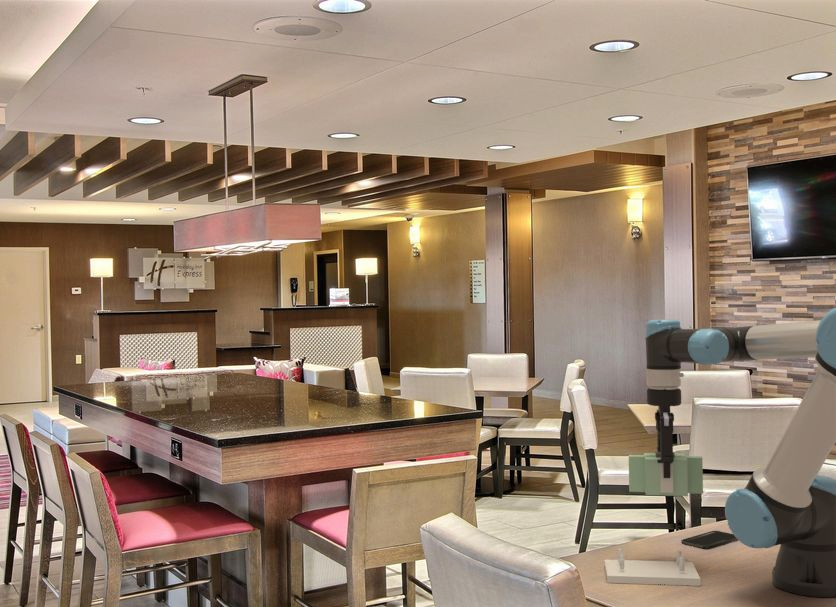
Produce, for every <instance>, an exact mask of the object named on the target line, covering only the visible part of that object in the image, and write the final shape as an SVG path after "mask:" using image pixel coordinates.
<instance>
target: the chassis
mask: <svg viewBox="0 0 836 607" xmlns="http://www.w3.org/2000/svg"><path fill="white" fill-rule="evenodd" d="M623 554H624V553H623V549H622V548H618V550H617V559H604V569H605V570H604V571H605V576H606V581H607V583H608V584H631V585H632V584H633V585H658V584H659V585H660V584H661V585H663V586H665V585H666V586H687V585H688V586H689V585H690V586H694V587H701V585H702V584H701V577H700V575H699V573H698V571H697V569H696V567H695V565H694V563H693V562H692V561H685V558H684V556H682V551H681V550H679V549H678V550H676V552H675V554H676V560H675V561H672V560H670V561H669V560H665V561H664V560H640V559H639V560H636V559H634V560H632V559H625V555H623ZM664 584H665V585H664ZM659 585H658V586H659Z"/></svg>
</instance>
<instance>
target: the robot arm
mask: <svg viewBox="0 0 836 607" xmlns="http://www.w3.org/2000/svg"><path fill="white" fill-rule="evenodd" d="M680 322H681V321H680V320H679V319H651V320H649V321H647V322H646V327H645V337H644V339H645V353H646V369H645V370H646V371H645V373H646V376H645V377H646V378H645V379H646V382H645V383H646V384H645V385H646V386H647V389H646V403H647V405H649V406H652V407H658V408H657V409H656V412H654V419H655V428H656V431H657V432H656V433H657V435H656V436H657V442H656V443H657V445H656V446H657V447H656V452H661V459H660V460H657V463H660V492H663V493H673V463H672V462H673V460H674V458H673V452H674V445H673V444H674V443H673V440H674V439H673V434H674V422H675V414H674V412H671V407H678V406H681V405H682V389H681V388H679V387H681V386H682V379H681V378H683V377H685V376H684V375H685V374H684V373H683V372H681V369H682V364H681V363H687V364H698V365H704V366H706V365H718V364H721V363H725V362H744V361H746V362H747V361H748V362H750V361H760V360H761V361H762V360H763V361H764V360H782V359H785V360H786V359H789V360H790V359H807V358H808V359H809V358H810V359H811V358H814V361H815V363H816V365H817V368H818V370H817V371H816V374H815V375H814V377H813V379H812V381H811V383H810V385H809V387H808V388H807V389H806V390H807V391H806V392H805V394H804V395H803V398H802V399H801V401H800V403H799V404H798V406H797V409H796V410H795V413H794V414H793V416H792V419H791V420H790V422H789V423H788V426H787V427H786V429H785V430H784V433H783V435H782V437H781V438H780V440H779V442H778V444H777V446H776V447H775V449H774V452H773V453H772V455H771V457H770V458H769V461H768V462H767V464H766V466H760V467H757V468H756V469H755V470H754V471H753V473H752V474H751V476H750V478H749V480H748V482H747V484H746V486H745V487H744V488H738V489H736V490H735V491H733V492H731V493H730V494H729V495H728V497H727V498H726V502H725V505H724V513H725V518H726V520H727V526H728V528H729V529H730V532H731V534H734V536H735V537H736V538H737V539H738V541H739V542H740V543H741V544H743V545H744V546H747V547H749V548H751V549H770V548H772V547H775V546H778V545H780V546H779V550H778V554H777V556H776V560H775V565H774V566H773V567H772V570H771V582H772V584H773V585H774V586H775V587H776V588H777V589H778V588H779V589H780V590H782V591H786V592H788V593H792V594H796V595H799V596H800V595H801V596H805V597H806V596H808V597H815V598H833V597H835V598H836V479H835V478H834V477H830V476H825V475H820V474H819V472H820V470H821V469H822V467H823V465H824V464H825V462H826V460H827V458H828V457H829V455H830V453H831V451H832V449H833V448H834V446H835V445H836V307H834V308H832V309H831V310H829V311H828V312H827V313H826V314H825V315H824V316H823V317H822V318H821V319H819V320H818V319H817V320H807V321H796V322H793V321H792V322H787V323H785V322H783V323H773V324H762V325H761V324H760V325H759V324H758V325H750V326H747V325H746V326H737V327H736V326H735V327H734V326H733V327H719V328H718V327H716V328H715V327H713V328H708V327H707V328H682V327H681V323H680ZM648 387H649V388H648Z"/></svg>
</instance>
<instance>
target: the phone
mask: <svg viewBox="0 0 836 607" xmlns="http://www.w3.org/2000/svg"><path fill="white" fill-rule="evenodd" d="M680 541H681V543H682V545H683V544H684V546H688V547H692V546H693V548H696V549H701V550H712V549H716V548H718V547H721V546H725V545H728V544H732V543H735V542H738V541H739V540H738V539H737V538H736V537H735V536H734V534H733V533H729V532H724V531H720V530H711V531H707V532H704V533H701V534H697V535H694V536H690V537H686V538H684V539H681V540H680Z"/></svg>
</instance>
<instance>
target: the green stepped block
mask: <svg viewBox="0 0 836 607" xmlns="http://www.w3.org/2000/svg"><path fill="white" fill-rule="evenodd" d="M673 458H674V460H673V462H672V463H673V493H663V492H660V463H657V460H660V459H661V452H657V451H655V452H654V453H653V452H650V453H649V452H644V453H643V455H642V454H628V488H629V489H628V491H629V493H631V492H632V493H645V496H665V497H667V496H669V497H670V496H671V497H673V496H676V497H689V494H695V495H696V494H697V495H698V494H700V495H703V494H704V482H703V481H704V471H703V469H704V468H703V464H704V463H703V457H702V456H700V455H699V456H698V455H697V456H696V455H695V456H694V455H685V453H675V452H674V451H673Z"/></svg>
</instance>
